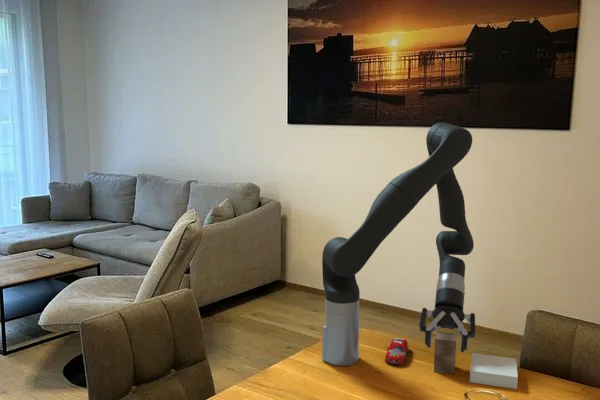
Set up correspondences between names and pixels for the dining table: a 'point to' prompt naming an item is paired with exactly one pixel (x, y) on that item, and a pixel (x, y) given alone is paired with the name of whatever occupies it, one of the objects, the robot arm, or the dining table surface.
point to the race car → (397, 352)
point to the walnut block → (445, 353)
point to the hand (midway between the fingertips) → (445, 348)
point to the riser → (493, 370)
